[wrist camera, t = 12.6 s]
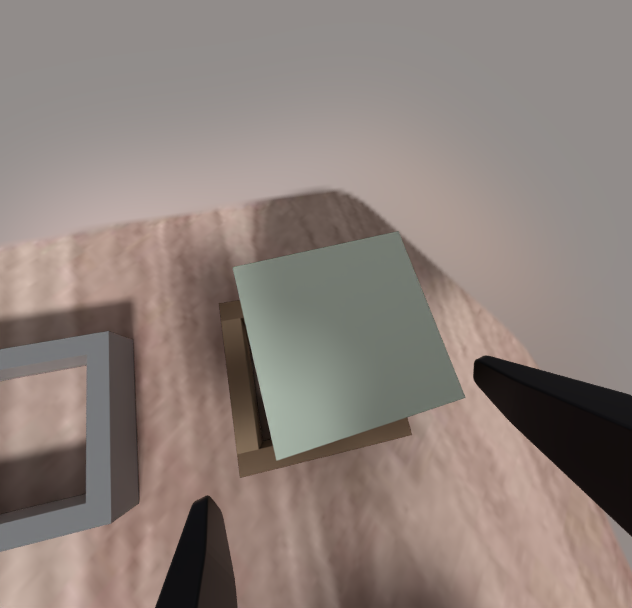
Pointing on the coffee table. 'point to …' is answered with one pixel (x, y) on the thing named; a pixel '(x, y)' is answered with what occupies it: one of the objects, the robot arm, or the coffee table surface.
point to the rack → (246, 416)
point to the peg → (342, 342)
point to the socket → (101, 436)
